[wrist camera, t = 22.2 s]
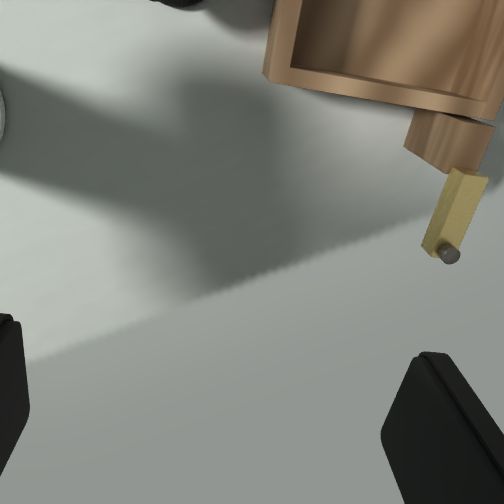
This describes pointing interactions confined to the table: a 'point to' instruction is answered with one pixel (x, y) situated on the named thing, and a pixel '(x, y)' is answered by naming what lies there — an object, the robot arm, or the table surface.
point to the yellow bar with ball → (453, 213)
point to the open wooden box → (401, 64)
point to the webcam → (179, 2)
